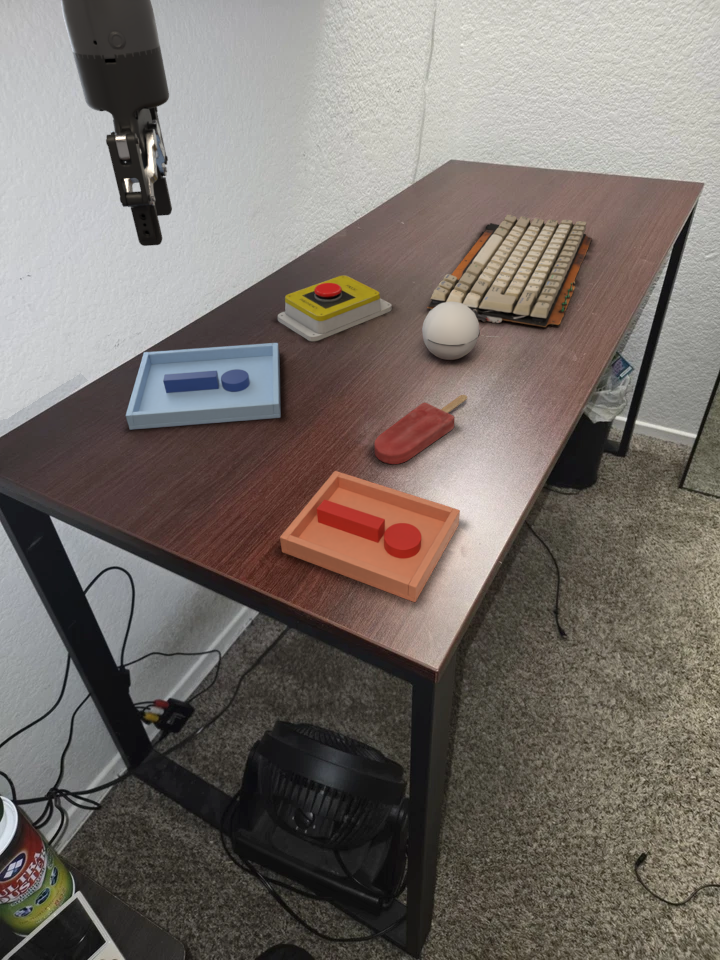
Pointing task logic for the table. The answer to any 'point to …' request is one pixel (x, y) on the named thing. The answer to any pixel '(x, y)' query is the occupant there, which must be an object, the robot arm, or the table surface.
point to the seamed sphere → (451, 330)
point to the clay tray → (365, 555)
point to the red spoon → (371, 528)
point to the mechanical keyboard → (518, 271)
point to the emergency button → (331, 307)
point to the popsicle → (415, 432)
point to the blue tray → (206, 405)
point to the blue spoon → (206, 381)
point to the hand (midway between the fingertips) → (157, 228)
